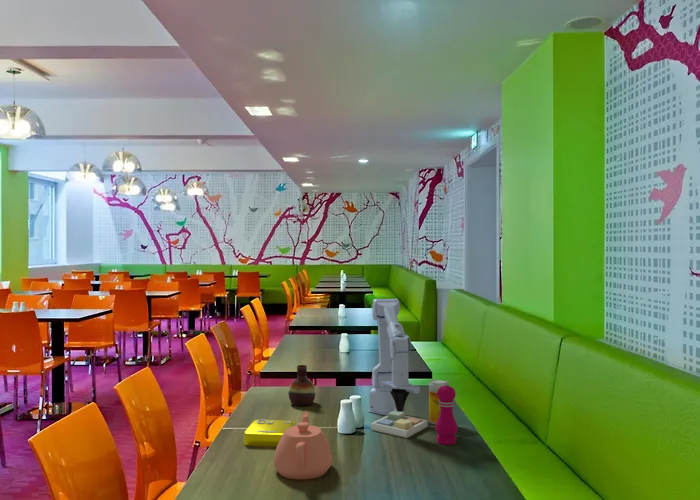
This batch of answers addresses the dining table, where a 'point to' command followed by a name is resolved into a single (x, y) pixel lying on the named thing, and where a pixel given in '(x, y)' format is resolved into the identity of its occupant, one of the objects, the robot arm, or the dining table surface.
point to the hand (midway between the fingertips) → (400, 410)
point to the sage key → (396, 415)
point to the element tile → (266, 432)
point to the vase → (302, 388)
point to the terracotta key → (414, 420)
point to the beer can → (434, 400)
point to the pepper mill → (446, 416)
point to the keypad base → (398, 431)
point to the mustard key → (403, 424)
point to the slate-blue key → (386, 422)
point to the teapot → (303, 452)
